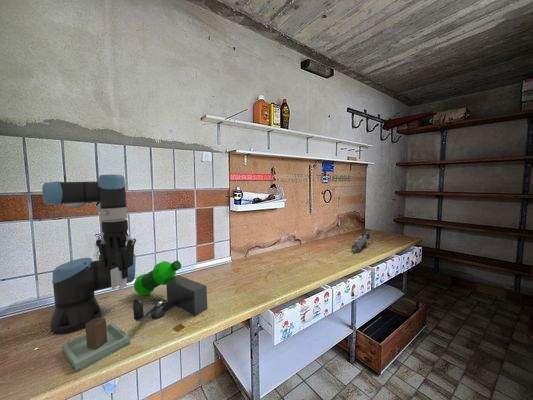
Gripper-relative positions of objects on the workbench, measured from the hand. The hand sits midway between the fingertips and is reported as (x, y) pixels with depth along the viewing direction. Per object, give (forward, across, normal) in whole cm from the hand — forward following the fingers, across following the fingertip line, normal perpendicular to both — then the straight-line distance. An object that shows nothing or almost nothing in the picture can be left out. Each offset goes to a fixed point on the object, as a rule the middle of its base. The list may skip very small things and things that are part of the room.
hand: (119, 286), depth 80 cm
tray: (+16, -3, -8) cm, 18 cm away
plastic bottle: (+13, -13, +28) cm, 33 cm away
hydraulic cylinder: (+17, +112, +110) cm, 158 cm away
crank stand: (+16, +13, +14) cm, 25 cm away
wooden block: (+16, -3, -8) cm, 18 cm away
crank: (+12, +6, +6) cm, 15 cm away
